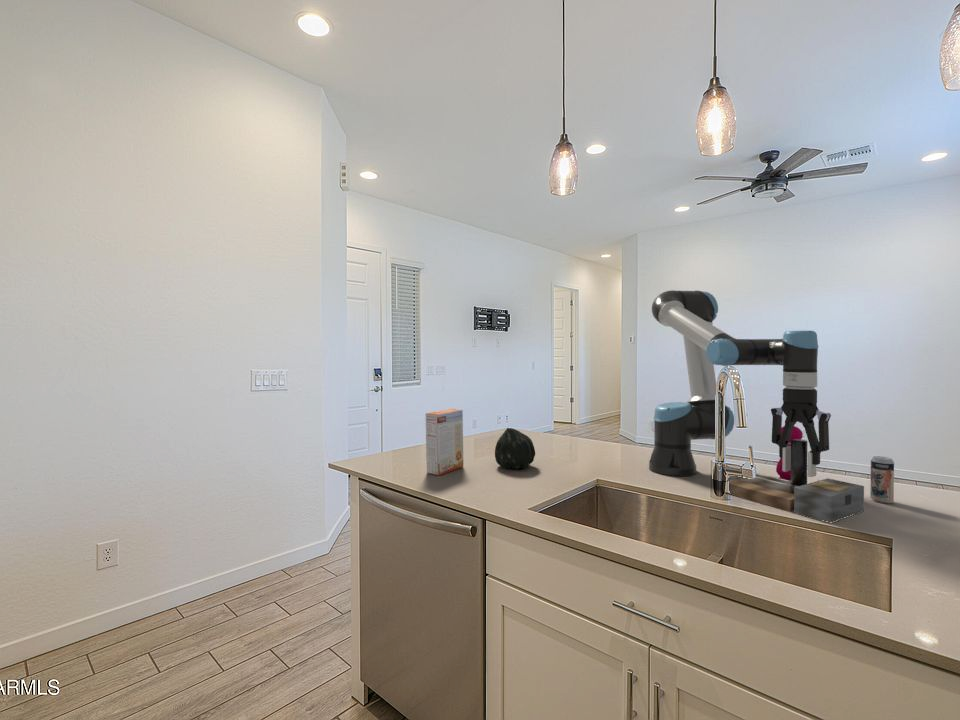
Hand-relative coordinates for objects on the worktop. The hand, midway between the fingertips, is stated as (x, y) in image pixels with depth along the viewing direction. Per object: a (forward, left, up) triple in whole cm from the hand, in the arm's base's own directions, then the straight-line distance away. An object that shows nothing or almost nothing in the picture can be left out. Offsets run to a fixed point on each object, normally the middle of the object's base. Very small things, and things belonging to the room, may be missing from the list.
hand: (798, 473), depth 119 cm
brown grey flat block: (-3, 0, -8) cm, 9 cm away
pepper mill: (-10, +16, -9) cm, 21 cm away
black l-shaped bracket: (+3, 0, -5) cm, 6 cm away
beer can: (+10, +22, -9) cm, 26 cm away
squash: (-70, -46, -9) cm, 84 cm away
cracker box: (-78, -70, -9) cm, 105 cm away
